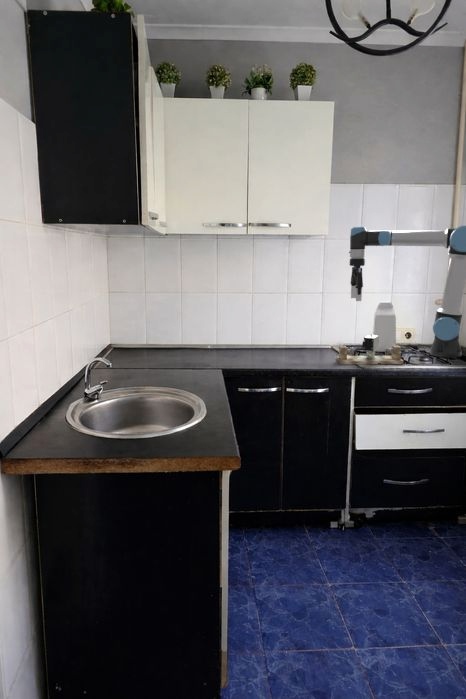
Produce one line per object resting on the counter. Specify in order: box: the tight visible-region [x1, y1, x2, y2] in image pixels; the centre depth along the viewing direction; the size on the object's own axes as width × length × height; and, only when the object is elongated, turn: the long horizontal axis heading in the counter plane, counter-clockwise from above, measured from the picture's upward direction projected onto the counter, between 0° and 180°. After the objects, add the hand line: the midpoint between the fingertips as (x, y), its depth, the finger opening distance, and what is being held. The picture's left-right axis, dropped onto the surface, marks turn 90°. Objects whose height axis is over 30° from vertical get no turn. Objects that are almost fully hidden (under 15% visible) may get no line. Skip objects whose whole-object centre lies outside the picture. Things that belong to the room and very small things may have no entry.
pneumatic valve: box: [361, 333, 379, 359], centre depth 252 cm, size 6×12×12 cm, turn 149°
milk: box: [372, 301, 397, 353], centre depth 278 cm, size 12×12×26 cm
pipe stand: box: [336, 344, 404, 365], centre depth 253 cm, size 30×12×8 cm, turn 87°
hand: (356, 299), depth 265 cm, fingers open, 13 cm apart
